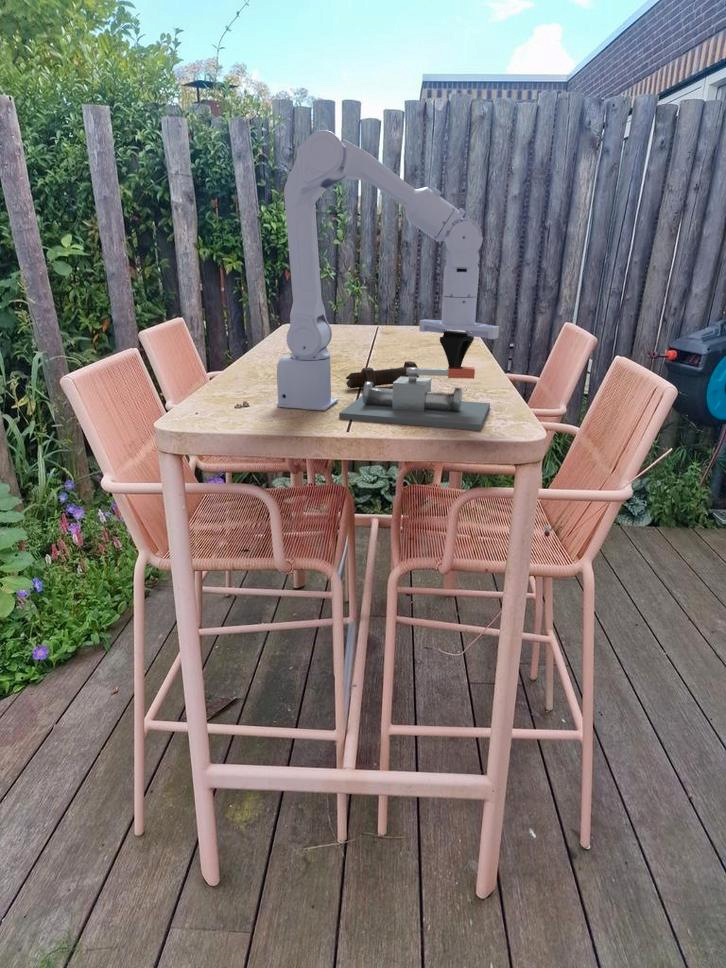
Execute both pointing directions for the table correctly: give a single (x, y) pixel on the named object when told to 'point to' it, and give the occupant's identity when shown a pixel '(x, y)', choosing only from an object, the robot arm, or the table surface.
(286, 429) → the table surface
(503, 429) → the table surface
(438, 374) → the valve lever
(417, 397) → the valve manifold
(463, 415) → the mounting plate
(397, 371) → the bolt
